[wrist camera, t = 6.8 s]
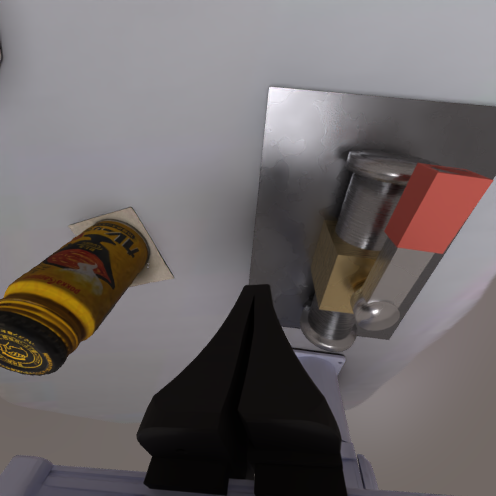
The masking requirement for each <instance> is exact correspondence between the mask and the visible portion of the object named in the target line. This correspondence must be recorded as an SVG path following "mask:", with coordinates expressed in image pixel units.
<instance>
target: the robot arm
mask: <svg viewBox="0 0 496 496" xmlns="http://www.w3.org/2000/svg"><path fill="white" fill-rule="evenodd" d="M345 361H346V359H345V357H344V356H340V355H333V354H325V353H317V352H309V351H302V350H294V349H292V347H291V345H290V343H289V342H288V340H287V338H286V336H285V334H284V331H283V329H282V327H281V325H280V322H279V320H278V317H277V315H276V312H275V309H274V306H273V300H272V294H271V287H270V285H269V284H259V285H245V286H244V288H243V290H242V292H241V294H240V296H239V298H238V300H237V302H236V303H235V305H234V307H233V309H232V310H231V312H230V314H229V315H228V317H227V318H226V320H225V321H224V323H223V324H222V326H221V327H220V329H219V330H218V332H217V333H216V334H215V336H214V337H213V338H212V339H211V341H210V342H209V343H208V344H207V346H206V347H205V348H204V349H203V350H202V351H201V352H200V354H199V355H198V356H197V357H196V358H195V359H194V360H193V361H192V362H191V363H190V364H189V365H188V366H187V367H186V368H185V369H184V370H183V371H182V372H181V373H180V374H179V375H178V376H177V377H175V378H174V379H173V380H172V381H171V382H170V383H169V384H167V385H166V386H165V387H164V388H163V389H161V390H160V391H159V392H158V393H157V394H155V395H154V396H153V398H152V400H151V402H150V404H149V406H148V408H147V410H146V412H145V415H144V417H143V420H142V422H141V425H140V427H139V430H138V432H137V440H138V442H139V443H140V445H141V446H143V448H144V449H145V450H146V451H148V453H149V454H150V455H151V456H152V459H151V462H150V465H149V468H148V471H147V472H139V471H126V470H112V469H100V468H87V467H73V466H61V465H53V464H52V463H51V462H50V461H48V460H47V459H44V458H41V457H36V456H21V455H16V456H14V457H13V458H12V460H11V461H10V463H9V464H8V465H7V467H6V468H5V469H4V471H3V472H2V474H1V475H0V496H452V495H439V494H438V495H437V494H426V493H413V492H399V491H387V490H379V489H378V485H377V482H376V478H375V475H374V472H373V468H372V466H371V463H370V462H369V461H368V460H367V459H366V458H365V457H364V455H362V454H358V455H357V458H358V463H359V467H358V463H357V459H356V454H355V450H354V445H353V443H352V442H351V438H350V434H349V429H348V424H347V420H346V415H345V411H344V406H343V402H342V397H341V393H340V388H339V384H338V379H337V376H338V374H339V372H340V370H341V368H342V367H343V365H344V363H345ZM359 470H360V471H359ZM254 473H255V478H254Z"/></svg>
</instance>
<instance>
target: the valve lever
mask: <svg viewBox="0 0 496 496" xmlns="http://www.w3.org/2000/svg"><path fill="white" fill-rule="evenodd" d="M492 182H493V180H492V179H490V178H487V177H484V176H482V175H479V174H477V173H474V172H472V171H469V170H467V169H460V168H453V167H445V166H438V165H430V164H423V163H417V165H416V167H415V169H414V171H413V173H412V175H411V177H410V179H409V181H408V184H407V186H406V188H405V190H404V192H403V194H402V196H401V198H400V200H399V202H398V204H397V206H396V208H395V210H394V212H393V214H392V216H391V218H390V220H389V222H388V224H387V226H386V228H385V230H384V232H385V233H386V234H387V236H388V237H387V239H386V241H385V243H384V245H383V247H382V249H381V251H380V253H379V255H378V257H377V259H376V261H375V263H374V265H373V267H372V269H371V271H370V273H369V275H368V277H367V279H366V281H365V283H364V284H363V286H362V288H360V289H358V290H356V291H355V292H354V293H353V294H352V296H351V298H350V305H351V307H352V310H353V313H354V316H355V318H356V321H357V324H358V325H359V326H360V327H361V328H363V329H366V330H371V331H378V330H383V329H387V328H389V327H391V326H393V325H394V324H395V323H396V322H397V321H398V319H399V317H400V313H399V310H398V308H399V306H400V305H401V303H402V302H403V300H404V299H405V297H406V296H407V294H408V293H409V291H410V290H411V288H412V287H413V285H414V284H415V282H416V281H417V279H418V278H419V276H420V275H421V273H422V272H423V270H424V268H425V267H426V265H427V264H428V262H429V261H430V259H431V258H432V256H433V255H434V253H440V254H443V253H444V251H445V250H446V248H447V247H448V245H449V244H450V243H451V241H452V240H453V238H454V237H455V235H456V234H457V232H458V231H459V229H460V228H461V227H462V225H463V224H464V222H465V221H466V219H467V218H468V216H469V215H470V214H471V212H472V211H473V209H474V208H475V206H476V205H477V203H478V202H479V200H480V199H481V198H482V196H483V195H484V193H485V192H486V190H487V189H488V187H489V186H490V184H491V183H492Z"/></svg>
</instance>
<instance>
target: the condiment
mask: <svg viewBox="0 0 496 496" xmlns="http://www.w3.org/2000/svg"><path fill="white" fill-rule="evenodd" d="M69 228H70V229H71V230H72V231H73V233H74V234H75V235H76V236H77V237H75V238H73V239H72V241H70V242H68V243H67V244H66V245H64V246H62V247H61V248H60V249H59V250H57V251H56V252H54V253H53V254H52V255H50V256H49V257H48V258H46V259H45V260H44V261H42V262H41V263H40V264H39V265H37V266H36V267H34V268H32V269H31V270H30V271H29V272H27V273H25V274H23V275H22V276H21V277H20V278H18V279H17V280H15V281H14V282H13V283H12V284H10V285H9V287H8V288H7V290H6V292H5V295H4V298H3V299H0V367H2V368H5V369H8V370H10V371H14V372H18V373H21V374H27V375H39V376H40V375H45V374H50V373H53V372H55V371H57V370H58V369H59V368H60V367H61V366H62V365H63V364H64V362H65V360H66V359H67V357H68V355H69V354H71V353H72V352H73V351H74V350H76V348H77V347H78V345H79V344H80V342H81V341H84V340H86V339H88V338H89V337H90V336H91V335H93V334H94V332H95V331H96V330H97V329H98V327H99V326H100V325H101V323H102V322H103V321H104V319H105V318H106V317H107V315H108V314H109V313H110V312H111V310H112V309H113V308H114V306H115V304H116V303H117V302H118V300H119V299H120V298H121V296H122V295H123V294H124V292H125V291H126V290H127V289H128V287H132V286H137V285H141V284H147V283H150V282H157V281H161V280H168V279H173V278H174V277H173V276H172V274H171V273H170V271H169V269H168V267H167V266H166V265H165V263H164V261H163V259H162V257H161V256H160V254H159V252H158V251H157V249H156V247H155V245H154V243H153V241H152V240H151V238H150V236H149V235H148V233H147V231H146V230H145V228H144V226H143V225H142V223H141V222H140V220H139V218H138V216H137V215H136V213H135V212H134V210H133V209H132V208H131V207H130V208H127V209H123V210H120V211H116V212H113V213H109V214H106V215H102V216H99V217H96V218H92V219H89V220H86V221H82V222H80V223H76V224H73V225H69ZM147 263H149V265H148V264H147ZM147 266H149V268H147Z"/></svg>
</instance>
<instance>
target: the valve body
mask: <svg viewBox="0 0 496 496" xmlns="http://www.w3.org/2000/svg"><path fill="white" fill-rule="evenodd" d="M417 163H423V164H430V165H438V166H445V167H453V168H460V169H467V170H469V171H472V172H474V173H477V174H479V175H482V176H484V177H487V178H490V179H492V180H493V179H494V177H495V176H496V107H492V106H480V105H469V104H458V103H447V102H435V101H424V100H413V99H402V98H390V97H379V96H368V95H357V94H345V93H334V92H323V91H311V90H300V89H289V88H278V87H269V94H268V104H267V114H266V124H265V133H264V143H263V153H262V162H261V172H260V182H259V192H258V201H257V211H256V221H255V230H254V240H253V250H252V260H251V269H250V279H249V285H259V284H269V285H270V287H271V294H272V300H273V306H274V309H275V312H276V315H277V317H278V320H279V322H280V325H281V326H283V327H290V328H298V329H301V330H302V332H303V334H304V335H305V337H306V338H307V339H308V340H309V341H310V342H311V343H313V344H314V345H315V346H317V347H319V348H321V349H323V350H326V351H331V352H341V351H345V350H347V349H349V348H350V347H351V346H352V345H353V343H354V341H355V339H356V337H357V336H362V337H370V338H378V339H386V340H389V339H390V337H391V336H392V334H393V333H394V331H395V330H396V328H397V327H398V325H399V323H400V322H401V320H402V319H403V317H404V316H405V314H406V313H407V311H408V310H409V308H410V307H411V305H412V303H413V302H414V300H415V299H416V297H417V296H418V294H419V293H420V291H421V290H422V288H423V286H424V285H425V283H426V282H427V280H428V279H429V277H430V276H431V274H432V273H433V271H434V270H435V268H436V266H437V265H438V263H439V262H440V260H441V259H442V257H443V256H444V254H445V253H446V251H447V249H448V248H449V246H450V245H451V243H452V242H453V240H454V239H455V237H456V236H457V234H458V233H459V231H460V229H461V228H462V227H461V228H460V229H459V231H458V232H457V234H456V235H455V237H454V238H453V240H452V241H451V243H450V244H449V245H448V247H447V248H446V250H445V251H444V253H443V254H440V253H434V255H433V256H432V258H431V259H430V261H429V262H428V264H427V265H426V267H425V268H424V270H423V272H422V273H421V275H420V276H419V278H418V279H417V281H416V282H415V284H414V285H413V287H412V288H411V290H410V291H409V293H408V294H407V296H406V297H405V299H404V300H403V302H402V303H401V305H400V306H399V308H398V310H399V313H400V317H399V319H398V321H397V322H396V323H395V324H394V325H393V326H391V327H389V328H387V329H383V330H378V331H371V330H366V329H363V328H361V327H360V326H359V325H358V324H357V321H356V318H355V316H354V313H353V310H352V307H351V305H350V298H351V296H352V294H353V293H354V292H355V291H356V290H358V289H360V288H362V286H363V284H364V283H365V281H366V279H367V277H368V275H369V273H370V271H371V269H372V267H373V265H374V263H375V261H376V259H377V257H378V255H379V253H380V251H381V249H382V247H383V245H384V243H385V241H386V239H387V237H388V236H387V234H386V233H385V232H384V230H385V228H386V226H387V224H388V222H389V220H390V218H391V216H392V214H393V212H394V210H395V208H396V206H397V204H398V202H399V200H400V198H401V196H402V194H403V192H404V190H405V188H406V186H407V184H408V181H409V179H410V177H411V175H412V173H413V171H414V169H415V167H416V165H417ZM469 216H470V215H469ZM469 216H468V217H469ZM467 219H468V218H467ZM467 219H466V220H467ZM465 222H466V221H465ZM465 222H464V223H465ZM463 225H464V224H463ZM463 225H462V226H463Z"/></svg>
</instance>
